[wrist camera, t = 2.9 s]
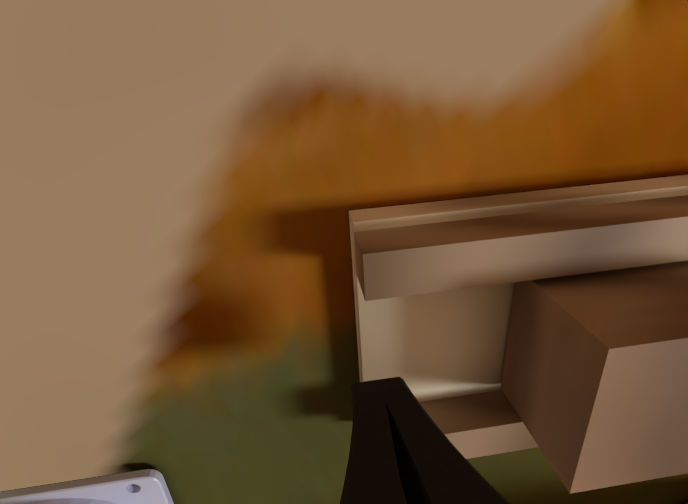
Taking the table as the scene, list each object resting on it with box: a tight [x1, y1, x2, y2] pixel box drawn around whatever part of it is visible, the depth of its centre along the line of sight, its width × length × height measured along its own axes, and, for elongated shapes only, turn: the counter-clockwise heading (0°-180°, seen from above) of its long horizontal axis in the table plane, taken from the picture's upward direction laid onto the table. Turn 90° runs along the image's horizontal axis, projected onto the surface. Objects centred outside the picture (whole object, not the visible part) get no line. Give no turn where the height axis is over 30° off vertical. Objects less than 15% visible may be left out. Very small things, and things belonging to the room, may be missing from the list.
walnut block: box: [501, 260, 688, 494], centre depth 12 cm, size 6×5×4 cm
